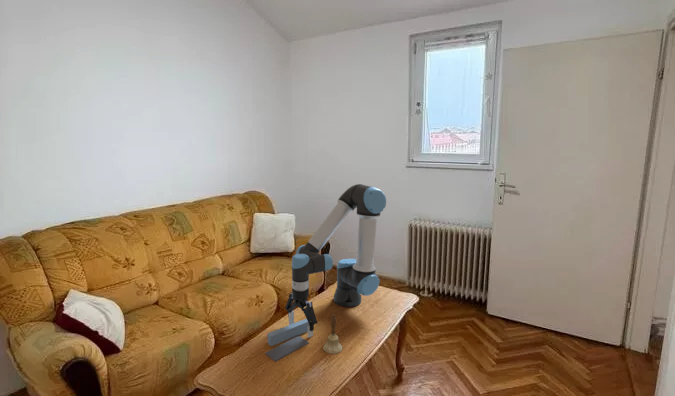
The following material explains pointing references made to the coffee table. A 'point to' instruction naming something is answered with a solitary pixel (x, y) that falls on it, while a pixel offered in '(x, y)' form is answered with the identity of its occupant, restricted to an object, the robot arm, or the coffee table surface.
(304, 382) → the coffee table surface
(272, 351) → the mat
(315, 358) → the coffee table surface
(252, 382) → the coffee table surface
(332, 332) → the hand bell
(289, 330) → the stick
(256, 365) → the coffee table surface
